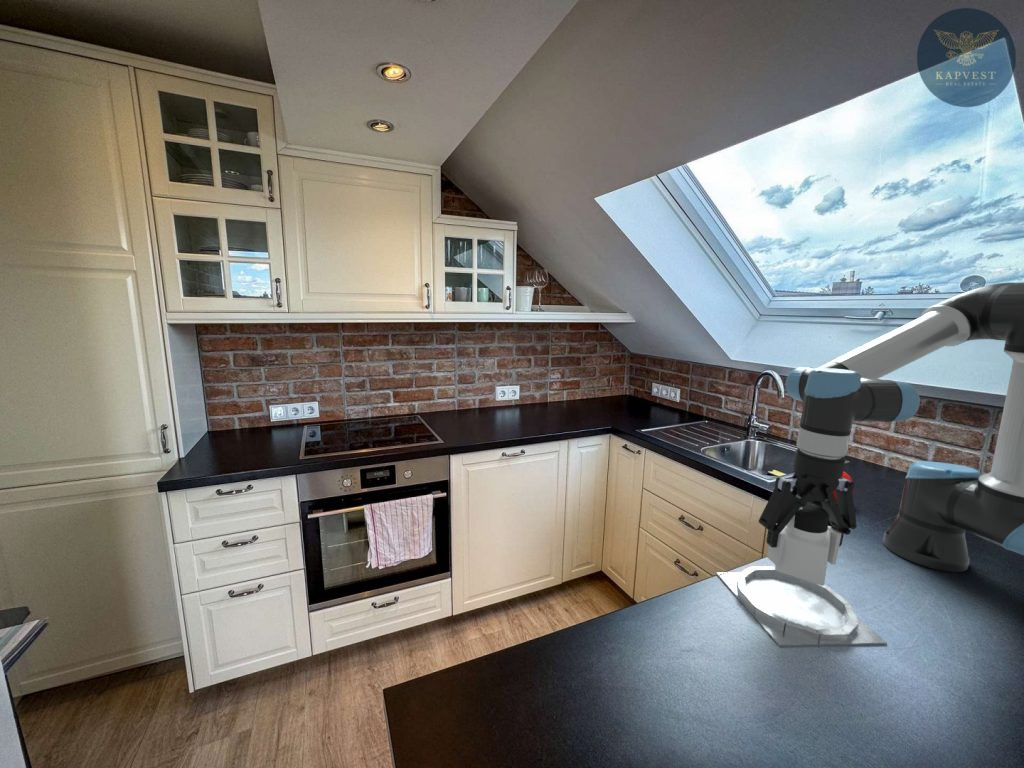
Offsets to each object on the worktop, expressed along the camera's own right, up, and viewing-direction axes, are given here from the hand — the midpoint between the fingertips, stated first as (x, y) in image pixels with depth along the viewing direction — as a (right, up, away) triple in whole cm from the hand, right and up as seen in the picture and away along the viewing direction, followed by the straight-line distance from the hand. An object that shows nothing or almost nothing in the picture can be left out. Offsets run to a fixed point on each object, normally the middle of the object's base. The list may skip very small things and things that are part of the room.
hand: (800, 560), depth 81 cm
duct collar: (0, -10, +2) cm, 10 cm away
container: (0, -2, 0) cm, 2 cm away
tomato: (+42, -2, +50) cm, 66 cm away
